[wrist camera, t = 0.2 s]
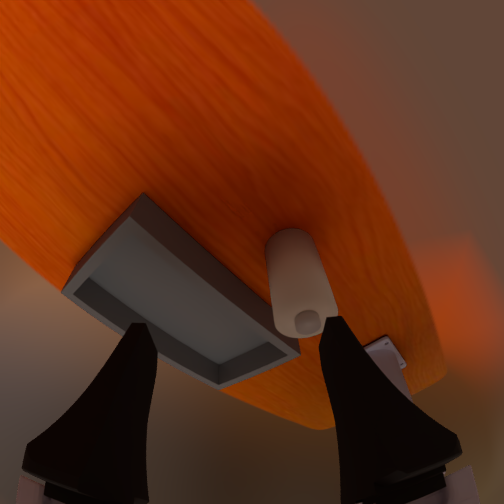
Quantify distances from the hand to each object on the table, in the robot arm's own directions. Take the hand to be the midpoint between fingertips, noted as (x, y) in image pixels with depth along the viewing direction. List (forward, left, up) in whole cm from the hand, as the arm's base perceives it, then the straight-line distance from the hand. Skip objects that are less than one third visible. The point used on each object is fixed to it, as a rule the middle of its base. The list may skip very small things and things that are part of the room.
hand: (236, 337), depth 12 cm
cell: (-5, -1, -10) cm, 11 cm away
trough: (-4, +8, -10) cm, 13 cm away
